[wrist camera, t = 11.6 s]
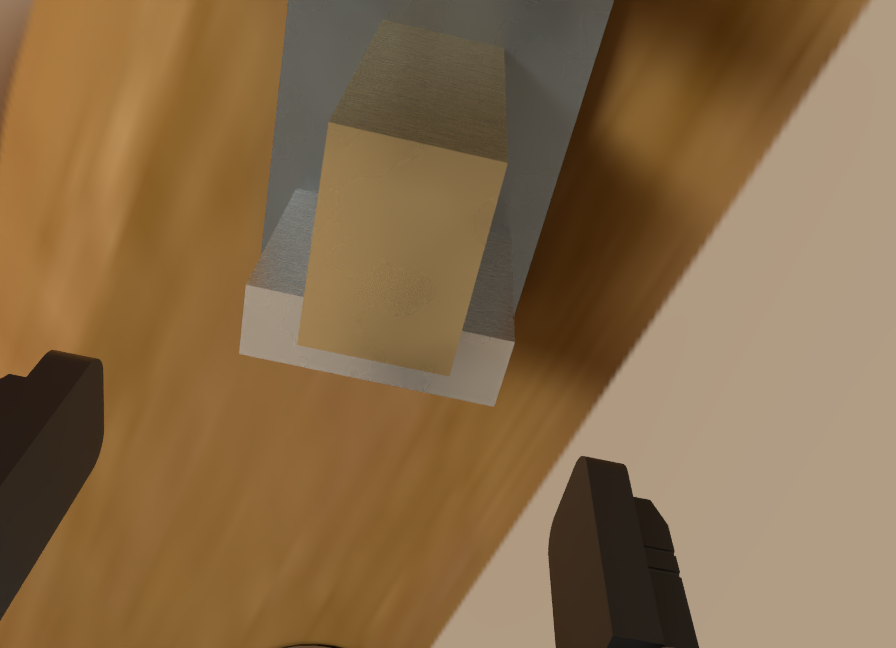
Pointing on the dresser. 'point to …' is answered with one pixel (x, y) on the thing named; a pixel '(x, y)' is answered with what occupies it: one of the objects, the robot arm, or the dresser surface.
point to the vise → (521, 196)
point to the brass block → (406, 199)
